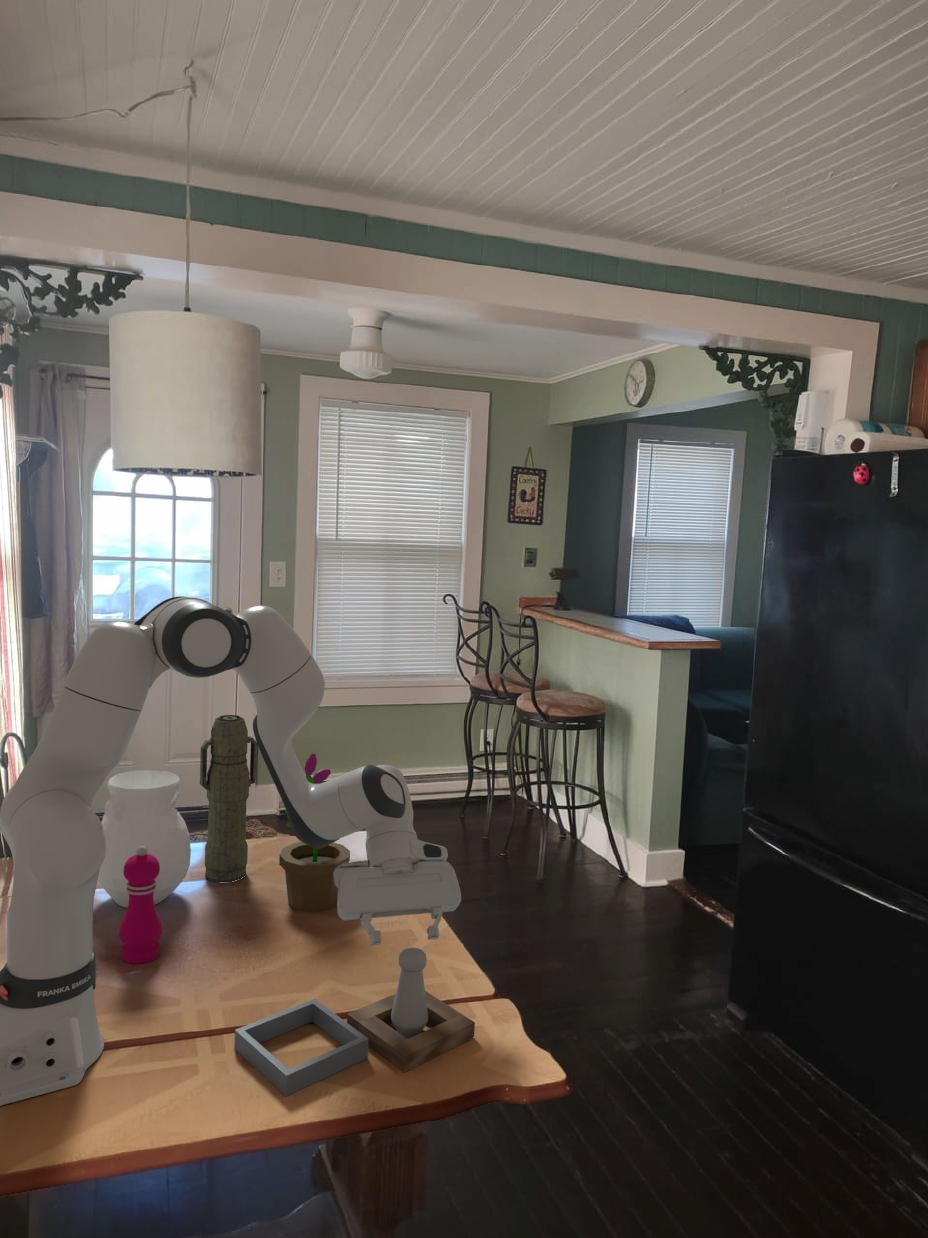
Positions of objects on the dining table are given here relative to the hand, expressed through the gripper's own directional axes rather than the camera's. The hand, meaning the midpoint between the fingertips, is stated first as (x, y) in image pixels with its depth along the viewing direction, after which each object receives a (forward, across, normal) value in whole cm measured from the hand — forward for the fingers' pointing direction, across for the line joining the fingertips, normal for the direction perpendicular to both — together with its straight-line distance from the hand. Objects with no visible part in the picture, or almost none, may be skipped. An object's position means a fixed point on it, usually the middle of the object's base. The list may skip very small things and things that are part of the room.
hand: (405, 941), depth 142 cm
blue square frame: (+13, -17, +4) cm, 22 cm away
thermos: (-35, -24, +53) cm, 68 cm away
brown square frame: (+12, 0, +6) cm, 14 cm away
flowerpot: (-23, -7, +41) cm, 48 cm away
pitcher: (-29, -40, +47) cm, 68 cm away
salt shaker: (+12, 0, +6) cm, 14 cm away
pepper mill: (-11, -40, +30) cm, 51 cm away
